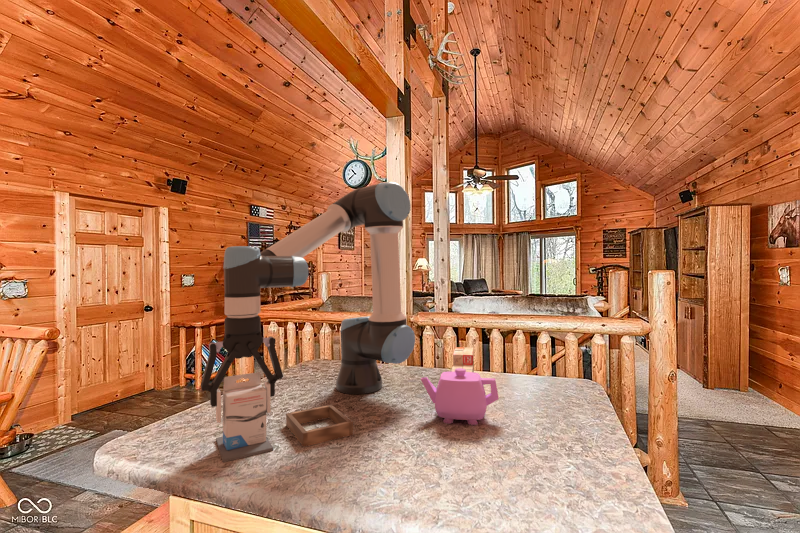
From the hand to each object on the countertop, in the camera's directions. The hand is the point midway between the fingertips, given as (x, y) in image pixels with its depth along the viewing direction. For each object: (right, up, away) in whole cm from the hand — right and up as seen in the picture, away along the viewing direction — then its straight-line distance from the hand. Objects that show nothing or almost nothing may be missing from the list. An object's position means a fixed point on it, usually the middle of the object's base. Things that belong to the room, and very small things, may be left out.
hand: (243, 415), depth 88 cm
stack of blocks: (+55, -7, +36) cm, 66 cm away
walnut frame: (+15, -6, +8) cm, 18 cm away
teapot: (+50, -6, +15) cm, 53 cm away
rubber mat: (0, -7, 0) cm, 7 cm away
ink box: (0, -6, 0) cm, 6 cm away
